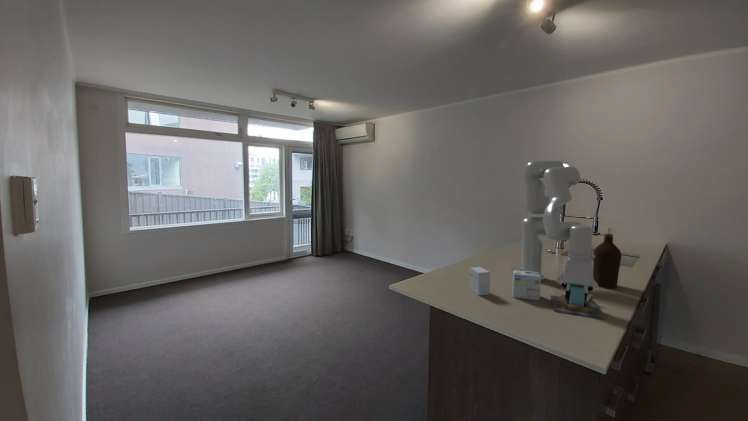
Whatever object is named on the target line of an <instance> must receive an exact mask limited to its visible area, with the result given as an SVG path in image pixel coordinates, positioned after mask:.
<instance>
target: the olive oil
mask: <svg viewBox="0 0 748 421" xmlns="http://www.w3.org/2000/svg"><path fill="white" fill-rule="evenodd" d="M603 237H604V238H603V241H602V242H601V243H600V244H599V245H597V246H596V247H595V248H594V250H593V255H595V258H592V259H593V260H592V264H593V279H594V280H595V281H596V283H597V284H598V286H599V287H598V288H603V289H609V290H610V289H612V290H613V289H616V288H617V287H618V280H619V274H620V269H621V268H620V267H621V261H622V252H621V250H620V249H619V248H618V246H617V245H616V244H615V243H614V234H612V233H604V236H603Z"/></svg>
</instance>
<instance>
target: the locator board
mask: <svg viewBox="0 0 748 421" xmlns="http://www.w3.org/2000/svg"><path fill="white" fill-rule="evenodd" d="M550 300H551V304H552V307H553V311H554V312H555V313H560V314H561V313H562V314H568V315H573V316H575V315H576V316H582V317H585V318H586V317H587V318H593V319H594V318H595V319H600V320H605V316H604V314H603V313H602V310H601V309H600V308H599V306H598V304H597V303H596V301H595V300H594V294H591V293H588V300H585V303H584V307H581V306H574V305H570V303H569V301H568V300H567V298H565V294H560V295H552V294H550Z"/></svg>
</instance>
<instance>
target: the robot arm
mask: <svg viewBox="0 0 748 421" xmlns="http://www.w3.org/2000/svg"><path fill="white" fill-rule="evenodd" d="M523 179H524V182H525V202H524V203H525V204H524V205H525V206H524V207H525V212H526V213H528V214H531V215H542V216H527V217H525V218H523V219H522V221H521V223H520V228H521V236H522V237H521V238H522V240H521V242H522V243H521V257H520V258H521V259H520V260H521V262H520V266H519V267H511V272H513V270H518V271H530V272H539V274H540V276H541V282H542V281H544V280H545V276H544V275H543V274H542V270H543V269H542V267H543V265H542V264H543V248H544V245H543V242H542V240H541V239H540V237H541V236H542V237H543V236H547V237H548V238H549V239H550V240H554V241H563V240H564V241H566V240H567V241H568V249H567V250H568V251H567V257H565V258H564V260H563V266H562V272H561V275H560V276H558V277H557V279H556V280H555V281H556V283H558V284H559V285H560V286H562V288H563V289H564V290H565V294H564V295H565V298H567V300H568V301H569V300H570V286H571V284H574V285H582V286H583V287H584V288H585V298H584V303H585V300H587V298H588V294H589V293H590V292H592V291H593V290H594V289H597V288H600V287H599V286H598V284H597V283H596V281H595V280H594V279H593V260H592V259H593V258H595V255H594V253H592V244H593V243H592V242H593V233H594V232H593V231H594V230H593V228H592V226H590V225H585V224H582V223H581V222H577V221H561V207H562V206H564V205H565V204H568V203H570V202H571V201H572V198H573V197H572V196H573V195H572V193H571V190H570V186H574V187H575V186H577V185H578V184H579V183H580V180H581V173H580V171H579V170H578V169H577V167H575V166H574V165H571V164H570V163H568V162H566V161H563V160H543V159H541V160H531V161H529V162H528V163H527V164H525V166H524V170H523ZM542 179H543V181H544V182H543V181H542ZM545 190H546V192H547V194H546V192H545Z"/></svg>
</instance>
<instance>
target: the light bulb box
mask: <svg viewBox="0 0 748 421" xmlns="http://www.w3.org/2000/svg"><path fill="white" fill-rule="evenodd" d="M541 283H542V281H541V276H540V274H539V272H530V271H518V270H513V271H512V284H511V285H512V287H511V288H512V289H511V290H512V292H511V294H512V298H514V299H523V300H533V301H541Z"/></svg>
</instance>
